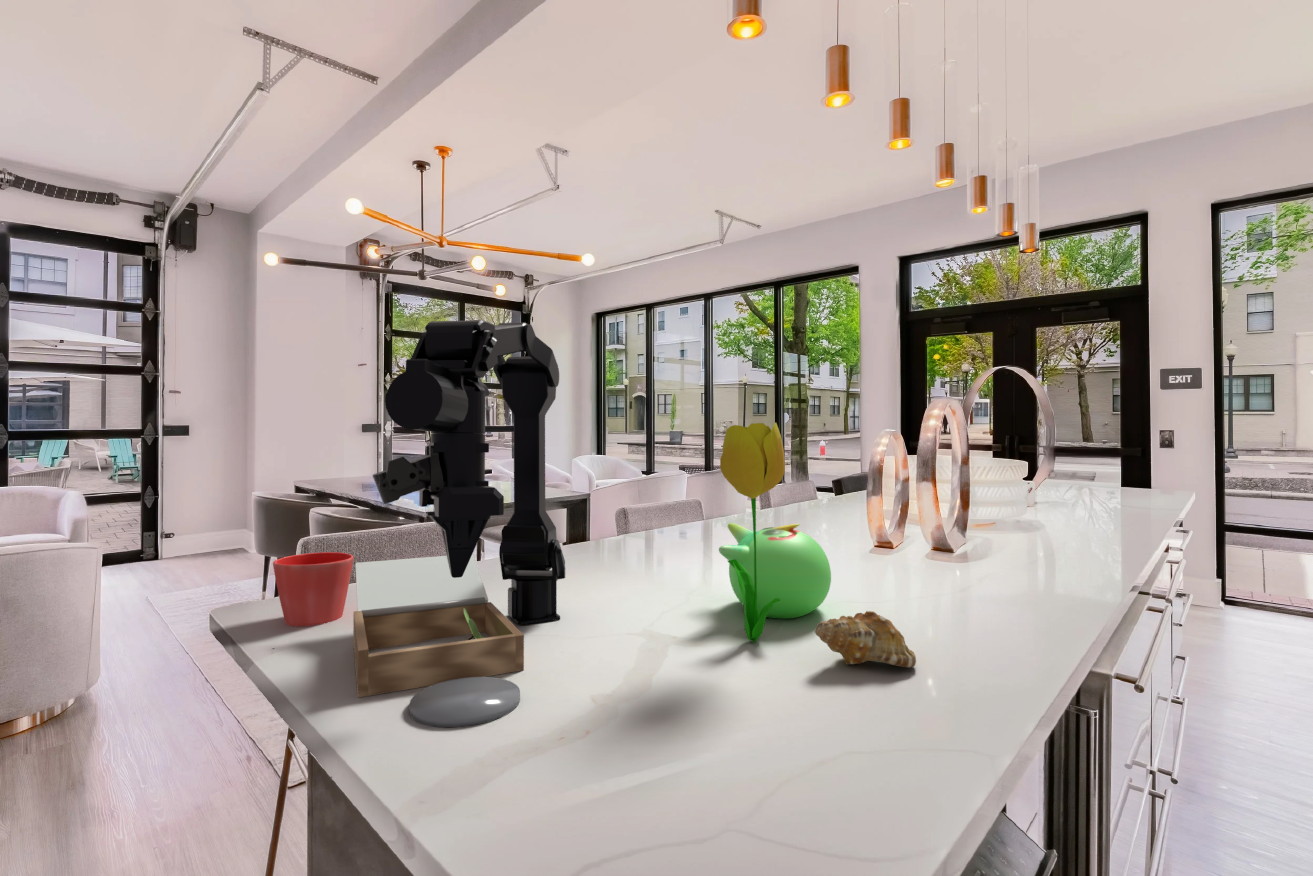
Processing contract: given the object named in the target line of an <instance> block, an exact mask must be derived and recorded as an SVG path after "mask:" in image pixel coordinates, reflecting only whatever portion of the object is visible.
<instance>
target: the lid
mask: <svg viewBox="0 0 1313 876" xmlns="http://www.w3.org/2000/svg"><path fill="white" fill-rule="evenodd" d="M355 583H356V603H357V604H356V606H357V609H356V611H362V614H363V618H365V617H374V616H383V615H392V614H400V613H409V612H418V611H427V610H436V609H444V608H453V607H462V606H471V605H479V604H485V603H488V602H489V597H488V594H487V591H486V588H485V585H484V582H483V577H482V575H481V571H480V568H479V566H478V562H477V559H476V555H475V553H473V554H472V556H471V558H470V560H469V563H468V565H467V567H466V569H465V572H464V574H463V576H462V577H458V578H453V577H452V576H451V573H450V569H449V564H448V560H447V555H440V556H425V557H413V558H402V559H390V560H389V559H388V560H386V559H385V560H374V561H363V562H355Z"/></svg>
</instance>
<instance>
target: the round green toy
mask: <svg viewBox="0 0 1313 876" xmlns="http://www.w3.org/2000/svg"><path fill="white" fill-rule="evenodd" d="M800 525H801V524H800V523H792V524H786V525H782V526H781V525H780V526H774V527H773V526H771V527H765V528H762V529H760V530H756V571H757V605H758V609H759V612H760V613H761V611H762V609H763V608H764V606H766V605H767V604H768V603H770V602H771V601H772V600H774V599H775V598H776V599H777V598H778V599H780V601H778V602H775V603H774V604H773V606H772V607H771V608H770V610H769V612H768V614H767V617H766V618H769V619H777V620H778V619H779V620H780V619H781V620H784V619H785V620H788V619H796V618H800V617H803V616H805V615H808V614H810V613H811V612H813V611H815V610H816V609H817V608H819V607H820V606H821V605H822V603H824V601H825V599H826V598H827V596H828V594H829V592H830V588H831V583H832V572H831V565H830V562H829V561H830V560H829V559H828V557H827V554H826V552H825V551H824V549H823V547H822V546H821V544H819V542H817V541H816V539H814V538H813V537H812V536H810V535H808V534H806V533H805V532H802V531H800V530H797V529H796V528H797V527H799V526H800ZM727 528H728V530H729V532H730V534H731V535H732V536H733V537H734V539H735V540H736V542H737V544H735V545H734V544H723V545H720V546H719V547H718V552H719V554H721V556H723V557H724V559H726V560H727V561H729V560H735V559H736V560H737V561H738V562H739V563H740V564H741V565H742V566H743V567H744V569H745V570H746V571H747V572H748V574H749V575H750V576H751V579H752V582H753V585H754V535H753V530H750V529H748V528H746V527H744V526H742V525H740V524H737V523H734V522H729V523H727ZM728 569H729V570H728V575H729V582H730V585H731V588H732V591H733V593H734V595H735V596H736V598H737V599H738V601H739V602H740V604H742V605H743V606H744V600H743V596H742V592H741V589H740V586H739V582H738V576H737V573H736V570H735V568H734V567H733V566H732V565H731V564H730V563H728Z"/></svg>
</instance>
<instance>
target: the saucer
mask: <svg viewBox="0 0 1313 876" xmlns="http://www.w3.org/2000/svg"><path fill="white" fill-rule="evenodd" d="M520 702H521V690H520V687H519V686H518V685H517V684H515V683H514V682H512V681H511V680H507V679H503V678H501V677H500V678H499V677H494V676H493V677H491V676H485V677H468V678H459V679H453V680H449V681H444V682H441V683H437V684H435V685H431V686H426V688H423V689H421V690H420V691H418V692H416V693H415V694H414V695H413V696H412V698H411V699H409V715H410V717H411V718H412V720H414V721H416V722H417V723H420V724H423V725H425V726H430V727H438V728H463V727H469V726H475V725H480V724H485V723H488V722H489V723H490V722H491V721H494V720H497V719H499V718H502V717H505V716H506V715H508V714H510V713H511V712H513V711H514V710H515V709H517V707H518V706H519V704H520Z"/></svg>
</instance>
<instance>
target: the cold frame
mask: <svg viewBox="0 0 1313 876" xmlns="http://www.w3.org/2000/svg"><path fill="white" fill-rule="evenodd" d="M464 608H465V610H466V611H467V614H468V616H469V618H470V619H472V620H473V621H474V623H475V624H476V626H477V628H478V631H479V633H484V632H485V633H486V635H487V637H484V638H480V639H476V638H475V639H473V638H472V639H471V640H468V639H467V640H461V641H460V640H459V641H452V642H445V643H439V644H431V645H430V644H429V645H423V646H418V647H408V648H402V649H401V648H400V649H395V650H394V649H393V650H389V651H381V652H373V653H369V650H375V649H381V648H387V647H395V646H401V645H408V644H414V643H420V642H426V641H427V642H428V641H433V640H439V639H445V638H451V637H452V638H453V637H459V636H465V635H473V634H472V632H471V629H470V627H469V625H468V622H467V620H466V618H465V614H464ZM352 629H353V631H352V632H353V634H352V635H353V640H352V641H353V659H354V660H353V661H354V670H355V680H356V690H357V698H364V697H369V696H374V695H376V696H377V695H381V694H387V693H394V692H399V691H400V692H401V691H406V690H412V689H418V688H419V689H420V688H423V687H429V686H432V685H435V684H437V683H441V682H444V681H449V680H453V679H459V678H468V677H491V676H497V675H502V674H508V673H515V672H521V671H525V640H524V639H525V635H524V634H523V632H522V631H520V630H519V628H518V627H516V626H515V624H513V623H512V622H511V620H510V619H509V618H508V617H506V616H505V615H504V613H502V612H501V611H500V610H499V609H498V608H497V607H496V605H494V604H493V603H492V602H491V601H490V602H489V601H488V603H485V604H479V605H471V606H462V607H453V608H444V609H436V610H427V611H418V612H409V613H400V614H392V615H383V616H374V617H365V618H363V614H362V611H357V610H356V611H353V628H352Z"/></svg>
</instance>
